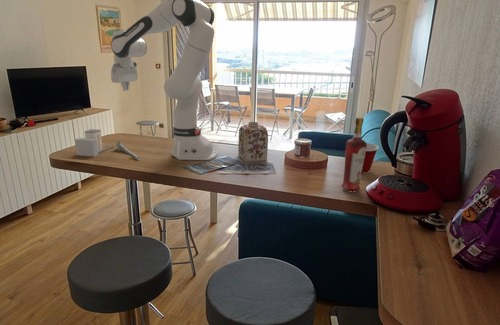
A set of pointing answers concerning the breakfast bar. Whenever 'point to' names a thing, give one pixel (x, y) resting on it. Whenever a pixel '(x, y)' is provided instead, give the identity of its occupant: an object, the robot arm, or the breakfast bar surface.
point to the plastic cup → (369, 156)
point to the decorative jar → (253, 142)
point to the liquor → (354, 158)
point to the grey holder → (88, 147)
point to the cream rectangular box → (95, 137)
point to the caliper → (125, 150)
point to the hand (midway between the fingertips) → (126, 90)
